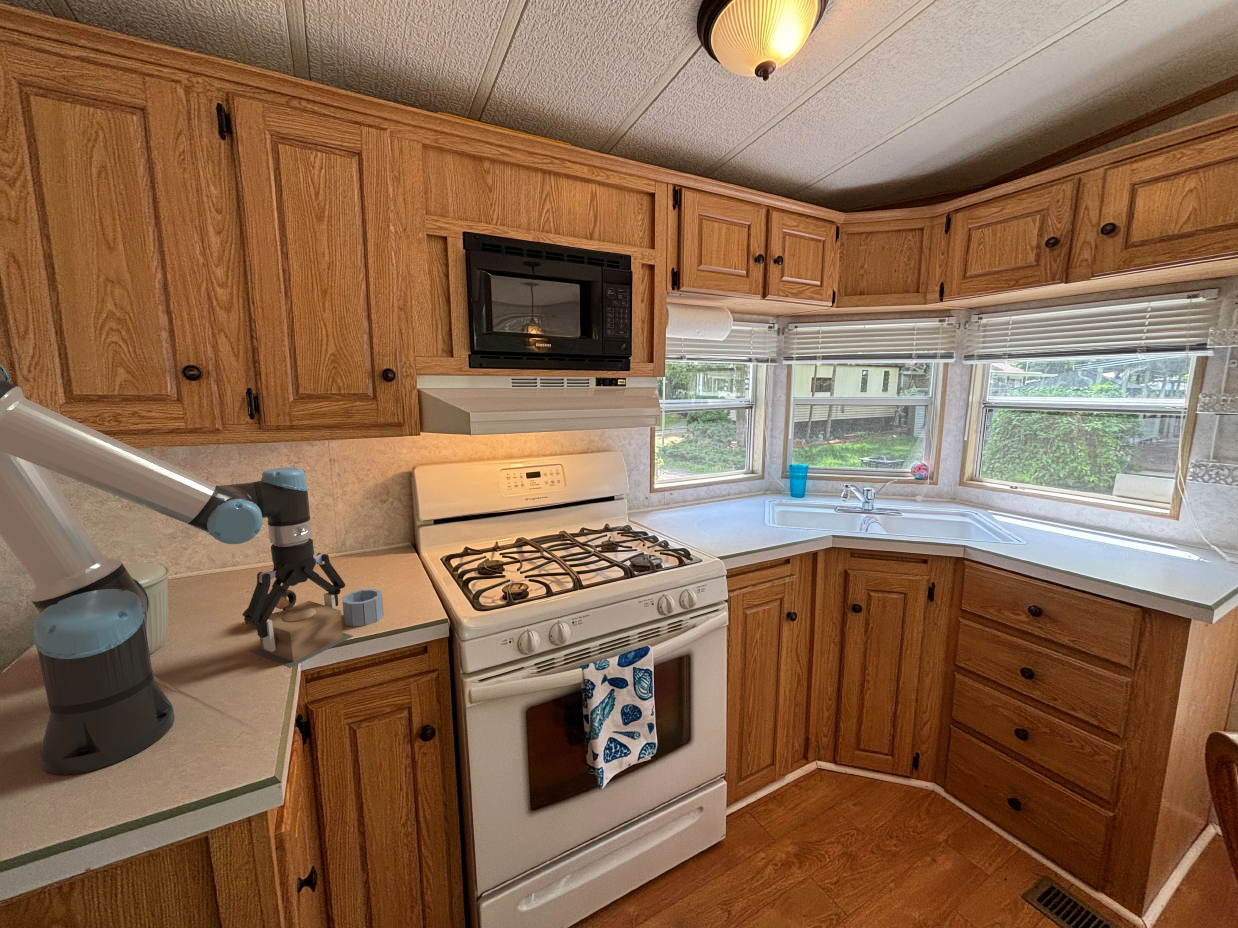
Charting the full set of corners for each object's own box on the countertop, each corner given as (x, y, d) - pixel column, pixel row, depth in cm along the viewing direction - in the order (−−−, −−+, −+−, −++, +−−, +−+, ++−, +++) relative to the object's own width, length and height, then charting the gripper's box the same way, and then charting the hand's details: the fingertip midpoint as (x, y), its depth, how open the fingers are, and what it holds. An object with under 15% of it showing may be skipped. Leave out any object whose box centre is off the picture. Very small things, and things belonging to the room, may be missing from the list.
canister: (169, 663, 103) (154, 565, 100) (43, 690, 95) (21, 583, 91) (190, 626, 119) (177, 539, 115) (83, 645, 110) (66, 552, 107)
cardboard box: (293, 661, 104) (289, 630, 102) (261, 649, 108) (257, 619, 107) (342, 637, 113) (340, 608, 112) (311, 626, 118) (308, 599, 117)
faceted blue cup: (361, 630, 117) (359, 606, 116) (336, 622, 121) (333, 599, 120) (391, 615, 125) (389, 592, 124) (367, 608, 128) (365, 586, 127)
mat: (290, 669, 102) (290, 667, 102) (249, 652, 108) (249, 650, 108) (353, 637, 114) (353, 635, 114) (313, 624, 120) (313, 622, 120)
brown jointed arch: (283, 635, 116) (258, 609, 113) (254, 648, 119) (228, 622, 116) (315, 600, 127) (292, 576, 124) (288, 612, 129) (265, 589, 127)
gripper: (236, 563, 94) (250, 668, 98) (356, 527, 116) (364, 614, 120) (214, 557, 97) (228, 658, 101) (335, 523, 120) (343, 607, 123)
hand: (302, 634), depth 111 cm, fingers open, 13 cm apart
